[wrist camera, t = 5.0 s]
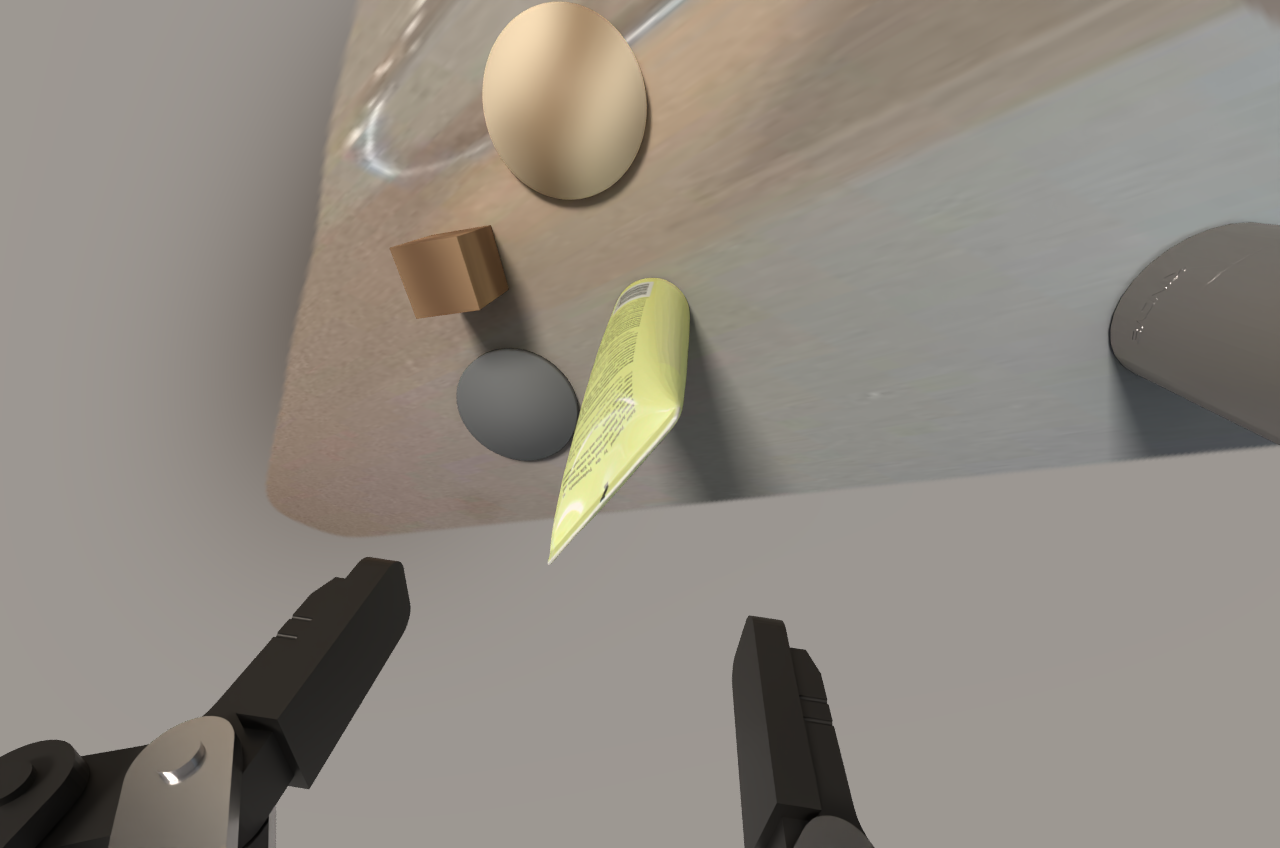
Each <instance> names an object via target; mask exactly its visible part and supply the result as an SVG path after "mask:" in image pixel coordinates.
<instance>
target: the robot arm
mask: <svg viewBox="0 0 1280 848" xmlns="http://www.w3.org/2000/svg"><path fill="white" fill-rule="evenodd" d="M1111 345H1112V348H1113V351H1114V354H1115V356H1116V357H1117V359H1118V360H1119V361H1120V363H1121V364H1122V365H1123V366H1124V367H1126V368H1127V369H1129V370H1130V371H1131V372H1133V373H1135V374H1137V375H1139V376H1141V377H1143V378H1145V379H1147V380H1149V381H1151V382H1153V383H1155V384H1157V385H1159V386H1161V387H1163V388H1165V389H1167V390H1169V391H1171V392H1173V393H1175V394H1177V395H1179V396H1181V397H1184V398H1185V399H1187V400H1189V401H1191V402H1193V403H1195V404H1197V405H1199V406H1201V407H1203V408H1205V409H1207V410H1209V411H1211V412H1213V413H1215V414H1217V415H1219V416H1221V417H1223V418H1226V419H1228V420H1230V421H1232V422H1234V423H1236V424H1238V425H1240V426H1242V427H1244V428H1246V429H1248V430H1250V431H1252V432H1254V433H1256V434H1258V435H1260V436H1262V437H1264V438H1266V439H1268V440H1270V441H1272V442H1274V443H1276V444H1278V445H1280V225H1271V224H1263V223H1254V222H1248V223H1235V224H1228V225H1224V226H1220V227H1216V228H1212V229H1209V230H1206V231H1204V232H1202V233H1199V234H1197V235H1194V236H1192V237H1190V238H1187V239H1186V240H1184V241H1182V242H1181V243H1179V244H1177V245H1175V246H1174V247H1172V248H1170V249H1169V250H1167V251H1166V252H1164V253H1163V254H1162V255H1161V256H1159V257H1158V258H1157V259H1155V260H1154V261H1153V262H1152V263H1150V264H1149V265H1148V266H1147V267H1146V268H1145V269H1144V270H1143V271H1142V272H1141V273H1140V274H1139V275H1138V276H1137V277H1136V279H1135V280H1134V281H1133V282H1132V283H1131V285H1130V286H1129V288H1128V289H1127V290H1126V292H1125V293H1124V295H1123V296H1122V298H1121V300H1120V302H1119V304H1118V306H1117V308H1116V310H1115V312H1114V316H1113V320H1112V324H1111ZM409 616H410V601H409V595H408V590H407V584H406V579H405V574H404V568H403V565H402V563H401V562H399V561H392V560H385V559H379V558H372V557H366V558H364V559H362V560H361V561H360V562H359V563H358V564H357V565H356V566H355V568H354V569H353V570H352V571H351V572H350V574H349V575H348V576H347V577H346V579H344V578H338V577H335V578H334V579H333V580H331V581H329V582H328V583H326V584H325V585H323V586H322V587H320V588H319V589H318V590H316V591H315V592H313V593H312V594H311V595H310V596H309V597H308V598H307V599H306V600H305V601H304V603H303V604H302V605H301V606H300V607H299V608H298V609H297V611H296V612H295V613H294V614H293V617H292V619H289V620H288V621H287V622H286V623H285V624H284V626H283V627H282V628H281V629H280V630H279V631H278V634H277V636H276V637H273V638H272V639H271V641H270V642H269V643H268V644H267V645H266V646H265V648H264V649H263V650H262V651H261V652H260V653H259V654H258V655H257V657H256V658H255V659H254V660H253V661H252V662H251V664H250V665H249V666H248V667H247V668H246V669H245V670H244V672H243V673H242V674H241V675H240V676H239V677H238V678H237V680H236V681H235V682H234V683H233V684H232V685H231V687H230V688H229V689H228V690H227V691H226V692H225V693H224V695H223V696H222V697H221V698H220V699H219V700H218V702H217V703H216V704H215V705H214V706H213V707H212V708H211V709H210V710H209V711H208V712H207V713H206V714H205V715H204V716H202V717H199V718H195V719H191V720H189V721H185V722H184V723H181V724H178V725H176V726H175V727H173V728H171V729H169V730H168V731H166V732H165V733H163V734H161V735H160V736H159V737H158V738H156V739H155V740H154V741H152V742H151V743H150V744H148V745H144V746H138V747H133V748H127V749H121V750H115V751H109V752H104V753H98V754H93V755H86V756H80V755H79V754H78V753H77V752H76V750H75V749H74V748H73V747H72V746H71V745H70V744H69V743H67V742H65V741H61V740H46V741H40V742H36V743H32V744H29V745H26V746H23V747H21V748H18V749H16V750H13V751H11V752H9V753H7V754H5V755H3V756H1V757H0V848H276V807H275V805H276V803H277V802H278V800H279V799H280V797H281V796H282V794H283V793H284V791H285V789H286V788H287V786H293V787H299V788H305V789H309V788H310V787H311V785H312V784H313V782H314V780H315V779H316V777H317V775H318V774H319V772H320V770H321V769H322V767H323V765H324V764H325V762H326V760H327V759H328V757H329V756H330V754H331V752H332V751H333V749H334V747H335V746H336V744H337V742H338V741H339V739H340V737H341V736H342V734H343V732H344V731H345V729H346V727H347V726H348V724H349V722H350V721H351V719H352V717H353V716H354V714H355V712H356V711H357V709H358V708H359V706H360V704H361V703H362V701H363V699H364V698H365V696H366V694H367V693H368V691H369V689H370V688H371V686H372V684H373V683H374V681H375V679H376V678H377V676H378V674H379V673H380V671H381V670H382V668H383V666H384V665H385V663H386V661H387V659H388V658H389V656H390V654H391V653H392V651H393V650H394V648H395V646H396V645H397V643H398V641H399V640H400V638H401V636H402V635H403V633H404V631H405V629H406V626H407V623H408V620H409ZM732 688H733V700H734V714H735V727H736V739H737V753H738V766H739V779H740V792H741V806H742V819H743V832H744V845H745V848H874V846H873V845H872V843H871V842H870V841H869V840H868V838H867V836H866V835H865V833H864V831H863V829H862V827H861V825H860V823H859V821H858V818H857V816H856V812H855V809H854V805H853V801H852V798H851V793H850V789H849V785H848V781H847V777H846V773H845V769H844V765H843V761H842V758H841V753H840V749H839V745H838V741H837V737H836V733H835V729H834V726H832V717H831V713H830V709H829V705H828V704H827V697H826V693H825V689H824V685H823V681H822V677H821V673H820V672H819V670H818V668H817V667H816V665H815V664H814V662H813V661H812V659H811V657H810V656H809V654H808V653H807V651H806V650H803V649H796V648H790V647H789V642H788V637H787V632H786V628H785V625H784V623H783V621H781V620H776V619H769V618H763V617H756V616H748V618H747V620H746V623H745V626H744V629H743V632H742V635H741V638H740V642H739V645H738V648H737V651H736V654H735V658H734V663H733V673H732Z"/></svg>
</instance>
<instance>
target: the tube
mask: <svg viewBox="0 0 1280 848" xmlns="http://www.w3.org/2000/svg"><path fill="white" fill-rule="evenodd" d="M689 327H690V311H689V306H688V303H687V300H686V298H685V296H684V295H683V293H682V292H681V291H680V290H679V289H678V288H677V287H676V286H675V285H673V284H672V283H670V282H668V281H666V280H663V279H659V278H646V279H641V280H638V281H636V282H634V283H632V284H631V285H629V286H628V287H627V288H626V289H625V290H624V291H623V292H622V294H621V295H620V297H619V299H618V300H617V303H616V305H615V307H614V310H613V312H612V315H611V318H610V320H609V323H608V325H607V328H606V331H605V333H604V336H603V339H602V342H601V345H600V347H599V350H598V353H597V357H596V360H595V363H594V366H593V369H592V372H591V376H590V379H589V382H588V386H587V389H586V393H585V396H584V400H583V403H582V407H581V410H580V414H579V418H578V421H577V425H576V429H575V433H574V437H573V441H572V445H571V449H570V453H569V457H568V460H567V464H566V468H565V472H564V476H563V481H562V485H561V490H560V494H559V499H558V504H557V509H556V514H555V519H554V525H553V531H552V537H551V548H550V557H549V559H548V564H549V565H550V564H552V562H553V561H554V560H555V559H556V558H557V556H558V555H559V554H560V553H561V552H562V550H563V549H564V548H565V547H566V546H567V545H568V544H569V542H570V541H571V540H572V539H573V538H574V537H575V536H576V534H578V532H580V531H581V530H582V529H583V528H584V527H585V526H586V525H587V524H588V523H589V522H590V521H591V520H592V519H593V518H594V516H595V515H596V514H597V513H598V512H599V511H600V510H601V509H602V508H603V507H604V506H605V505H606V504H607V502H608V501H609V500H610V499H611V498H612V497H613V496H614V495H615V494H616V493H617V491H618V490H619V489H620V488H621V487H622V486H623V485H624V484H625V482H626V481H627V480H628V479H629V478H630V477H631V476H632V474H633V473H634V472H635V471H636V470H637V469H638V468H639V466H640V465H641V464H642V463H643V462H644V461H645V460H646V458H647V457H648V456H649V455H650V454H651V453H652V452H653V451H654V449H655V448H656V447H657V446H658V445H659V444H660V443H661V442H662V440H663V439H664V438H665V437H666V435H667V434H668V433H669V432H670V431H671V429H672V428H673V427H674V426H675V424H676V423H677V421H678V419H679V417H680V415H681V412H682V408H683V402H684V393H685V385H686V374H687V362H688V347H689Z"/></svg>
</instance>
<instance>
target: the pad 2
mask: <svg viewBox="0 0 1280 848" xmlns="http://www.w3.org/2000/svg"><path fill="white" fill-rule="evenodd" d="M457 406H458V410H459V413H460V416H461V418H462V421H463V423H464V424H465V426H466V428H467V429H468V430H469V432H470V433H471V434H472V435H473V436H474V437H475V439H476V440H478V441H479V442H480V443H481V444H482V445H484V446H485V447H486V448H488V449H489V450H491V451H493V452H495V453H497V454H499V455H501V456H504V457H507V458H511V459H516V460H538V459H542V458H546V457H548V456H550V455H553V454H554V453H556V452H558V451H559V450H560V449H561V448H563V447H564V446H565V445H566V443H567V442H568V441H569V439H570V438H571V436H572V434H573V432H574V429H575V427H576V424H577V419H578V404H577V399H576V396H575V392H574V390H573V388H572V386H571V384H570V383H569V381H568V379H567V378H566V377H565V375H564V374H563V373H562V372H561V371H560V370H559V369H558V368H557V367H556V366H555V365H554V364H552V363H551V362H550V361H548V360H547V359H545V358H543V357H541V356H539V355H537V354H535V353H532V352H529V351H526V350H521V349H514V348H504V349H497V350H493V351H490V352H487V353H485V354H483V355H481V356H480V357H478V358H477V359H476V360H474V361H473V362H472V363H471V364H470V365H469V366H468V367H467V368H466V370H465V371H464V372H463V374H462V376H461V378H460V380H459V383H458V387H457Z"/></svg>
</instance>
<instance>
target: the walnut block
mask: <svg viewBox="0 0 1280 848" xmlns="http://www.w3.org/2000/svg"><path fill="white" fill-rule="evenodd" d="M390 251H391V253H392V256H393V258H394V261H395V264H396V266H397V269H398V271H399V274H400V277H401V279H402V282H403V285H404V287H405V290H406V292H407V295H408V298H409V300H410V303H411V306H412V308H413V311H414V313H415V316H416V319H419V318H426V317H433V316H440V315H447V314H454V313H461V312H469V311H476V310H480V309H482V308H483V307H485V306H486V305H487V304H489V303H490V302H492V301H493V300H494V299H496V298H497V297H499V296H500V295H501V294H503V293H504V292H506V291H507V290H508V289H509V288H508V285H507V281H506V277H505V274H504V270H503V267H502V263H501V260H500V256H499V253H498V249H497V246H496V242H495V239H494V235H493V231H492V228H491V225H489V226H483V227H477V228H471V229H465V230H459V231H453V232H448V233H442V234H436V235H431V236H428V237H424V238H421V239H418V240H414V241H411V242H408V243H404V244H401V245H398V246H394V247H391V248H390Z"/></svg>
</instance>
